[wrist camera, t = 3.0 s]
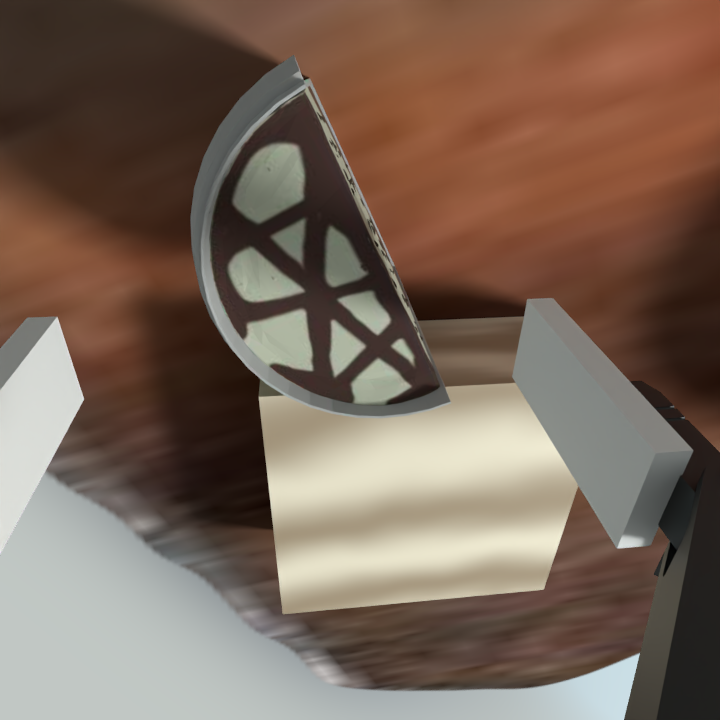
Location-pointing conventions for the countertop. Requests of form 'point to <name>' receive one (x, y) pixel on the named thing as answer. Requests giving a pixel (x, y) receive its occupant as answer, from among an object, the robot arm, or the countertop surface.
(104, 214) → the countertop surface
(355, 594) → the ash block
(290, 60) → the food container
